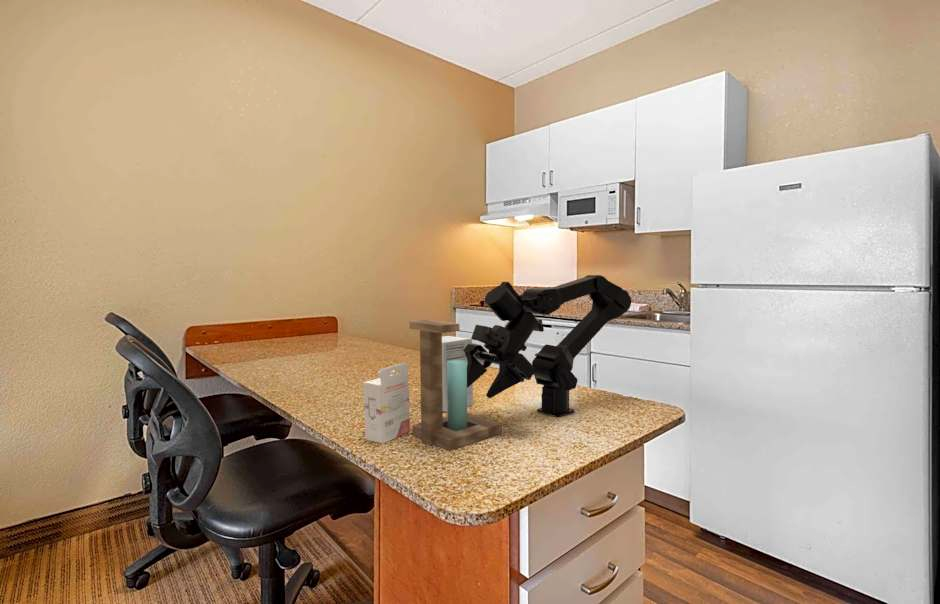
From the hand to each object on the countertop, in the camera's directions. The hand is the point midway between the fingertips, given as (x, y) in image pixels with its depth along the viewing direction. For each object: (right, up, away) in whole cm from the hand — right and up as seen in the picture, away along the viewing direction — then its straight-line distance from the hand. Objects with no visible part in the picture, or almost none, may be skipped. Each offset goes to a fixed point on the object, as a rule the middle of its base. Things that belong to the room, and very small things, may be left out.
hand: (475, 392), depth 100 cm
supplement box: (-7, -7, +19) cm, 22 cm away
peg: (-4, -8, -2) cm, 9 cm away
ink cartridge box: (-18, -9, -2) cm, 20 cm away
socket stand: (-4, -8, -2) cm, 9 cm away
